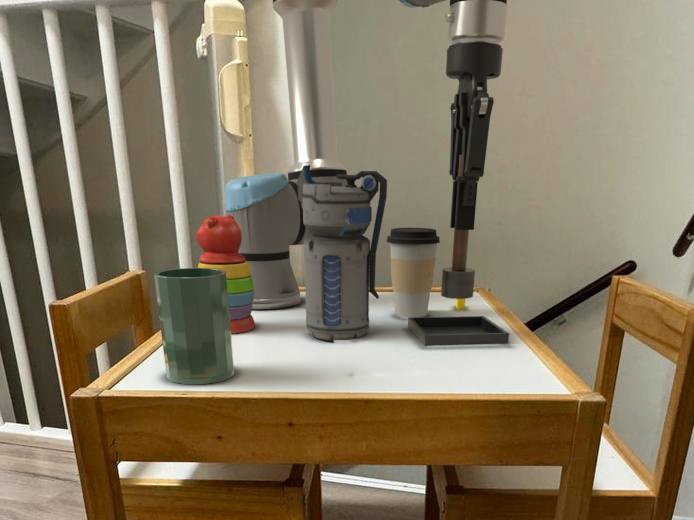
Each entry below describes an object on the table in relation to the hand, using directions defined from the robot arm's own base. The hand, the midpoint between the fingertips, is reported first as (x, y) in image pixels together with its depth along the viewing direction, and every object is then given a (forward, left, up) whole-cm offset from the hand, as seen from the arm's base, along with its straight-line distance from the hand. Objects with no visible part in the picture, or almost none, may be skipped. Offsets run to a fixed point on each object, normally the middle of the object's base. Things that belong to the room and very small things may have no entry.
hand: (461, 228), depth 101 cm
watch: (-23, +7, -17) cm, 29 cm away
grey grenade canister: (-3, -18, -17) cm, 25 cm away
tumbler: (+17, -39, -17) cm, 46 cm away
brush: (0, 0, -10) cm, 10 cm away
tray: (0, 0, -17) cm, 17 cm away
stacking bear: (-11, -37, -17) cm, 42 cm away
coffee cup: (-17, -4, -17) cm, 24 cm away
